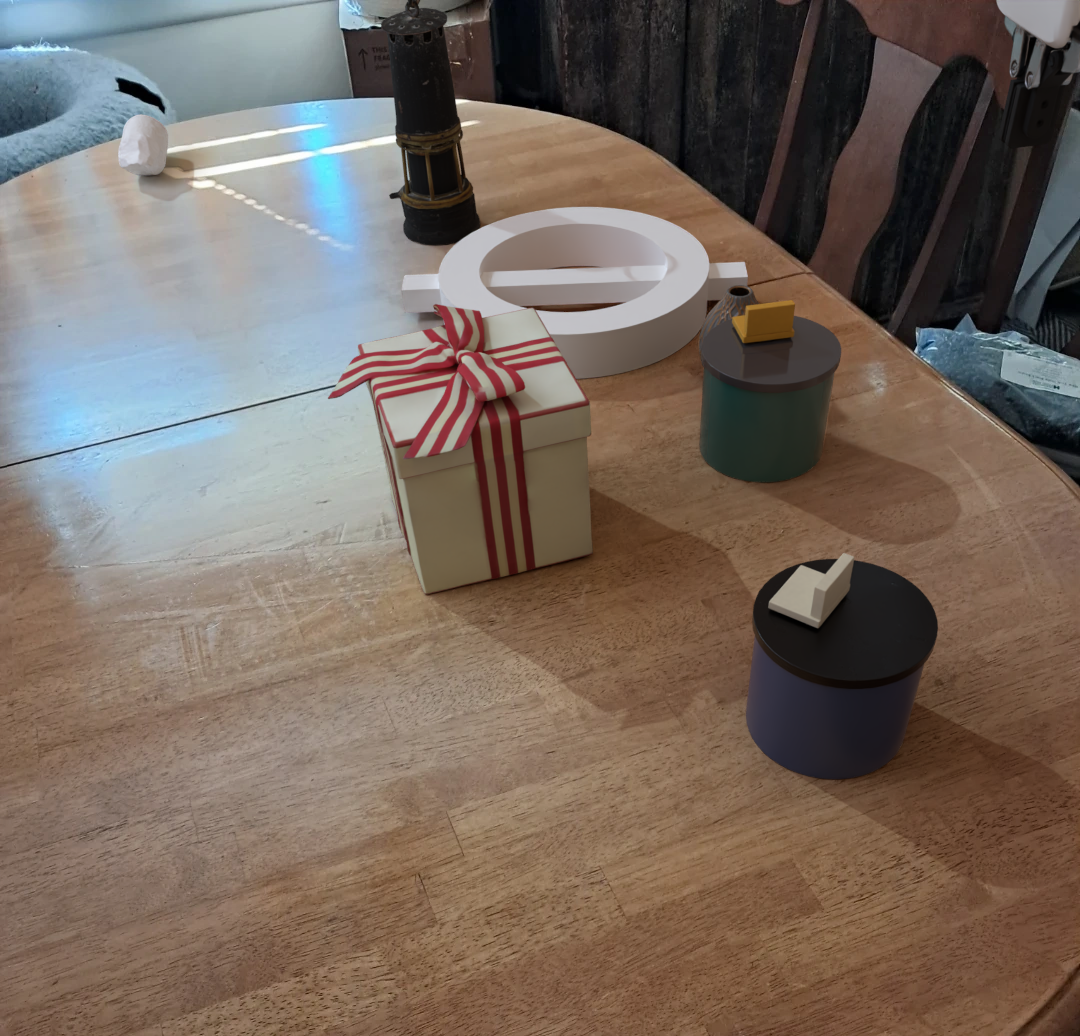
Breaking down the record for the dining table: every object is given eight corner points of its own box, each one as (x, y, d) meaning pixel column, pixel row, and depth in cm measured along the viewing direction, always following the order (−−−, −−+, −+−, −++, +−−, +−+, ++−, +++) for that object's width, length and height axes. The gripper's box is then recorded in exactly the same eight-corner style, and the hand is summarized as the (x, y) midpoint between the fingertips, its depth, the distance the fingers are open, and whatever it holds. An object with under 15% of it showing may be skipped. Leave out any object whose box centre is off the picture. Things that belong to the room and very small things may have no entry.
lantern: (388, 229, 138) (344, -65, 116) (447, 204, 142) (415, -85, 120) (435, 252, 133) (399, -50, 111) (495, 226, 137) (471, -71, 115)
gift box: (344, 507, 101) (304, 324, 88) (539, 454, 105) (528, 272, 92) (398, 627, 90) (361, 439, 77) (614, 564, 94) (613, 374, 81)
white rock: (123, 194, 149) (109, 149, 145) (129, 158, 157) (116, 115, 153) (170, 189, 150) (157, 144, 146) (173, 153, 158) (161, 109, 154)
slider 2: (849, 590, 75) (856, 554, 73) (818, 629, 73) (824, 593, 71) (799, 571, 77) (805, 535, 75) (767, 608, 74) (772, 572, 72)
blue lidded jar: (936, 702, 82) (967, 597, 74) (864, 809, 76) (890, 706, 68) (789, 641, 87) (805, 536, 79) (710, 736, 81) (719, 633, 73)
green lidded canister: (843, 475, 100) (861, 373, 93) (714, 492, 100) (721, 391, 92) (803, 403, 108) (816, 304, 101) (682, 419, 107) (686, 321, 100)
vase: (688, 363, 114) (693, 278, 108) (756, 353, 115) (764, 268, 108) (708, 400, 109) (713, 314, 103) (778, 389, 110) (788, 303, 104)
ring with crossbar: (390, 315, 124) (383, 273, 120) (574, 226, 136) (573, 185, 133) (574, 411, 109) (572, 366, 106) (761, 301, 122) (765, 258, 118)
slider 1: (793, 337, 97) (797, 303, 95) (743, 343, 97) (745, 310, 95) (781, 316, 100) (785, 283, 97) (731, 322, 99) (734, 289, 97)
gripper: (1231, -166, 63) (1127, 176, 77) (1098, -210, 74) (1027, 99, 87) (1102, -152, 63) (1019, 191, 76) (985, -198, 73) (931, 111, 86)
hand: (1023, 141), depth 81 cm, fingers closed
